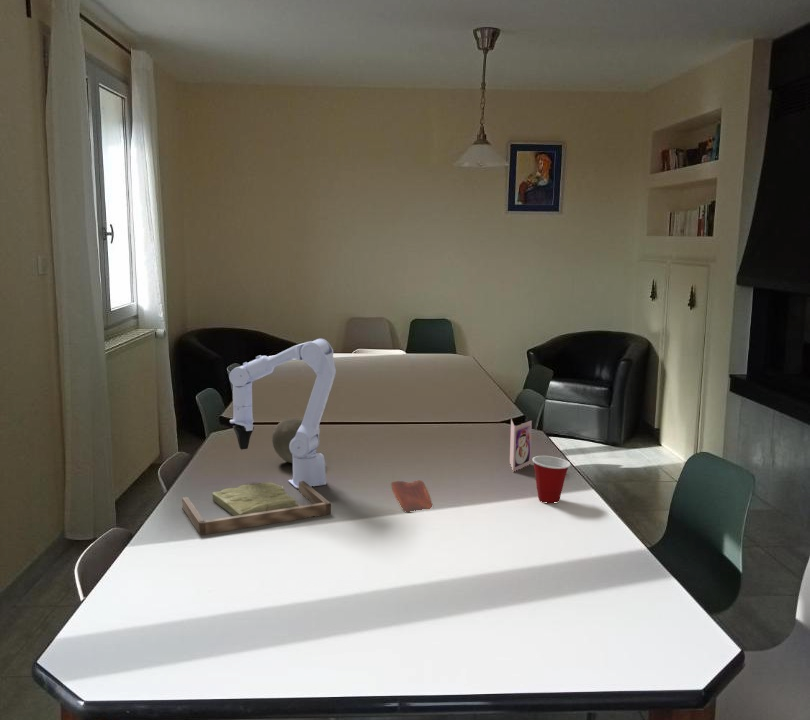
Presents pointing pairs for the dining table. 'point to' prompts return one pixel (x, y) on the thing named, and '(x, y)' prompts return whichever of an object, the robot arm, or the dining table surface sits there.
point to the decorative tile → (253, 498)
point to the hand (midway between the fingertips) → (243, 448)
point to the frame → (259, 514)
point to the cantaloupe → (285, 437)
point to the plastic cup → (550, 477)
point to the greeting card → (520, 445)
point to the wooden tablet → (412, 495)
